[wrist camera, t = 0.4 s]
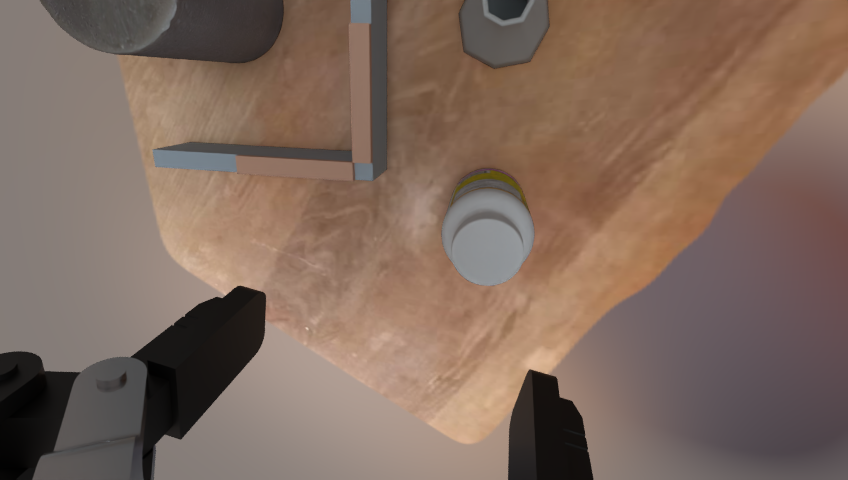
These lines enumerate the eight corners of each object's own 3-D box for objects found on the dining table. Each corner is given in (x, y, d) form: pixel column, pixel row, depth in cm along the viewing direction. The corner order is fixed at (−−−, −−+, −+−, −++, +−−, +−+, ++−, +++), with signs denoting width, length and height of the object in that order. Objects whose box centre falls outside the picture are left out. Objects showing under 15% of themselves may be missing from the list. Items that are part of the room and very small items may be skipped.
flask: (451, 62, 36) (437, 54, 26) (466, -38, 33) (457, -87, 24) (538, 75, 35) (554, 72, 26) (561, -26, 33) (589, -70, 23)
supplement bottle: (505, 247, 41) (510, 316, 29) (440, 219, 41) (419, 276, 29) (537, 183, 38) (559, 229, 26) (469, 154, 38) (459, 186, 26)
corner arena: (155, -80, 35) (97, -109, 30) (386, -84, 33) (367, -115, 28) (192, 157, 42) (150, 168, 37) (386, 169, 40) (370, 182, 34)
